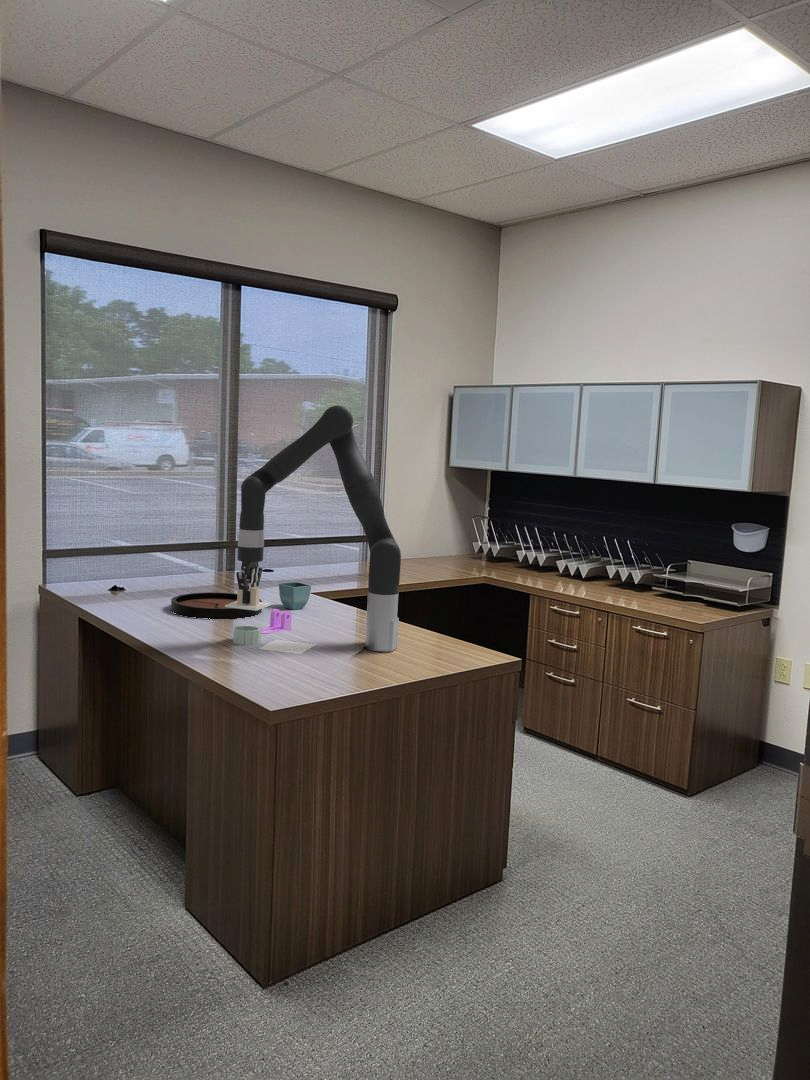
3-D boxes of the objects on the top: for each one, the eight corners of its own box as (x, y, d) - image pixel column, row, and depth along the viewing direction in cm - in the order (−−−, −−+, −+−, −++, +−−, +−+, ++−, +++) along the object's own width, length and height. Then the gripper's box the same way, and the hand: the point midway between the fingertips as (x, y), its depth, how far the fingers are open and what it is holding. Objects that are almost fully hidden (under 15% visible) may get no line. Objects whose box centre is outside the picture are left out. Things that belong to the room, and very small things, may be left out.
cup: (264, 643, 255) (265, 627, 254) (253, 649, 247) (254, 632, 247) (240, 640, 257) (240, 624, 256) (228, 646, 249) (228, 629, 249)
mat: (316, 647, 254) (316, 644, 254) (300, 657, 241) (300, 653, 241) (275, 642, 257) (275, 639, 257) (257, 652, 244) (257, 648, 244)
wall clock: (280, 603, 301) (204, 612, 278) (279, 614, 301) (204, 624, 278) (228, 589, 322) (153, 596, 299) (227, 600, 322) (153, 608, 299)
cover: (270, 605, 254) (271, 586, 254) (256, 610, 245) (257, 591, 244) (239, 601, 257) (240, 583, 256) (224, 607, 247) (225, 588, 247)
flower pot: (310, 609, 312) (312, 585, 311) (292, 611, 306) (293, 587, 305) (295, 605, 318) (296, 581, 317) (277, 607, 312) (278, 583, 311)
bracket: (276, 629, 277) (277, 608, 276) (290, 631, 274) (291, 610, 273) (251, 635, 265) (252, 613, 264) (265, 638, 263) (266, 616, 262)
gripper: (252, 548, 241) (250, 608, 243) (272, 543, 255) (269, 600, 257) (228, 545, 243) (226, 605, 245) (249, 541, 257) (246, 597, 258)
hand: (248, 602), depth 251 cm, fingers closed on cover, 2 cm apart
